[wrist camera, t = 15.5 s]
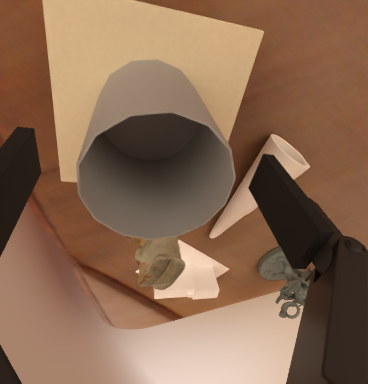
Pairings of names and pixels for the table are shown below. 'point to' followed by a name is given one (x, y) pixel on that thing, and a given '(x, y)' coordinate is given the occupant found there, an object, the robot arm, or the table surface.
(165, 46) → the side table
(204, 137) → the cup
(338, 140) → the table surface
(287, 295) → the figurine
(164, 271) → the sculpture
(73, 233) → the table surface
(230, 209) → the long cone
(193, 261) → the napkin holder
